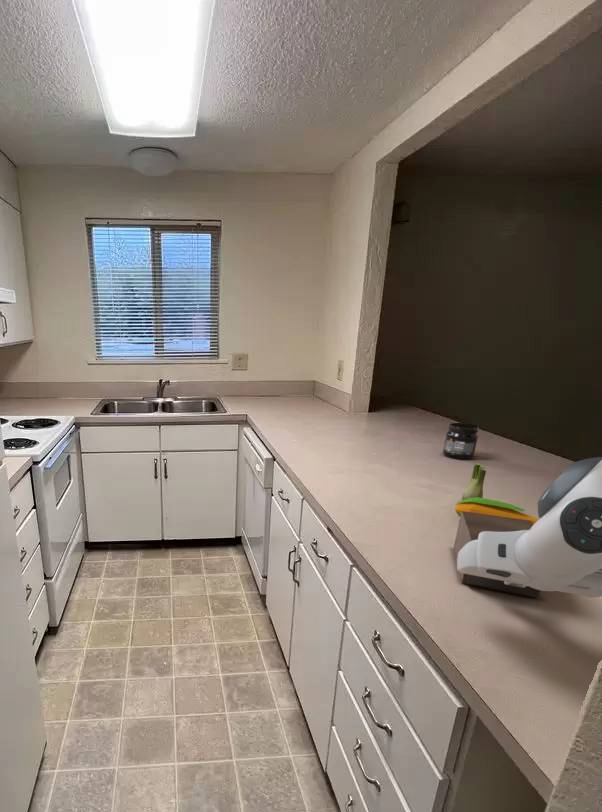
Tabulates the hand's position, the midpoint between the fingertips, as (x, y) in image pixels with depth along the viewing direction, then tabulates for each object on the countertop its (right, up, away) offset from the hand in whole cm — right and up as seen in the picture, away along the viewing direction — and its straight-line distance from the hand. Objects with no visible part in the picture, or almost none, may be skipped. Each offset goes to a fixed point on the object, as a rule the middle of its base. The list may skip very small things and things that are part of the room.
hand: (513, 581), depth 78 cm
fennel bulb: (+21, +11, +46) cm, 52 cm away
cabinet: (+5, -1, +14) cm, 15 cm away
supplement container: (+43, +27, +89) cm, 102 cm away
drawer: (+4, -1, +10) cm, 11 cm away
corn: (+19, +5, +32) cm, 37 cm away
